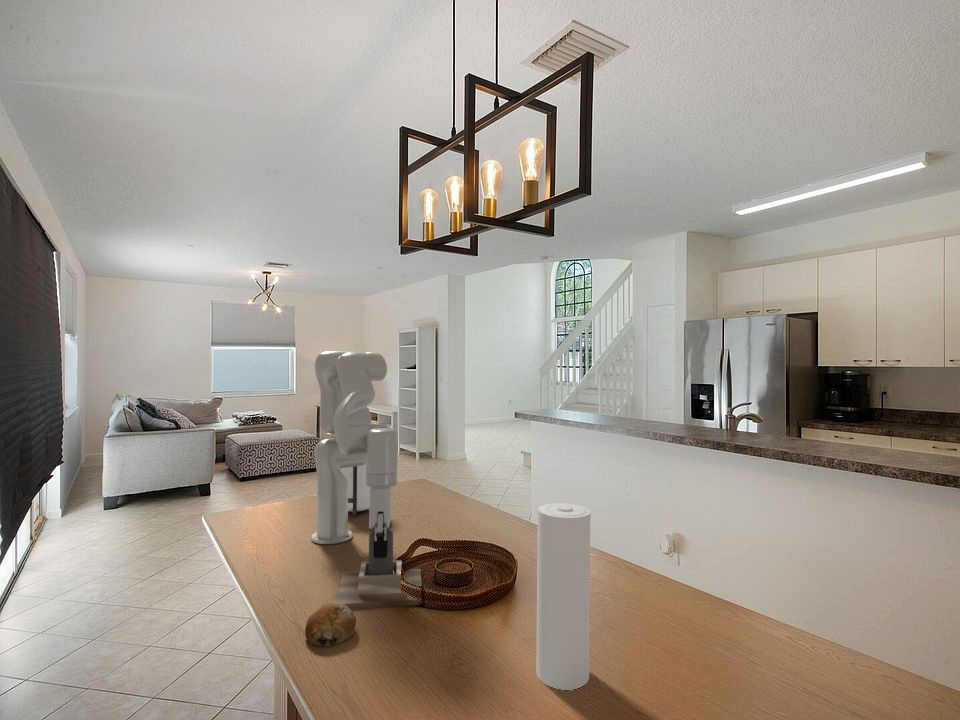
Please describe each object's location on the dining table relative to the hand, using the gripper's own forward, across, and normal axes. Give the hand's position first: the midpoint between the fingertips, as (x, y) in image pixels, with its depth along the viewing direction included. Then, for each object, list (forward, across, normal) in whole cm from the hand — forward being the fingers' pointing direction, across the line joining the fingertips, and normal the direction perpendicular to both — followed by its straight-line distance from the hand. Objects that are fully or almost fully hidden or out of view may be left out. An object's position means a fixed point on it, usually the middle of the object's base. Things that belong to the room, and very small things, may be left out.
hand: (381, 551), depth 126 cm
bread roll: (+10, +20, -9) cm, 24 cm away
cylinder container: (+10, +39, +34) cm, 53 cm away
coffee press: (+10, -68, -13) cm, 70 cm away
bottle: (+6, 0, 0) cm, 6 cm away
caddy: (+9, 0, 0) cm, 9 cm away
